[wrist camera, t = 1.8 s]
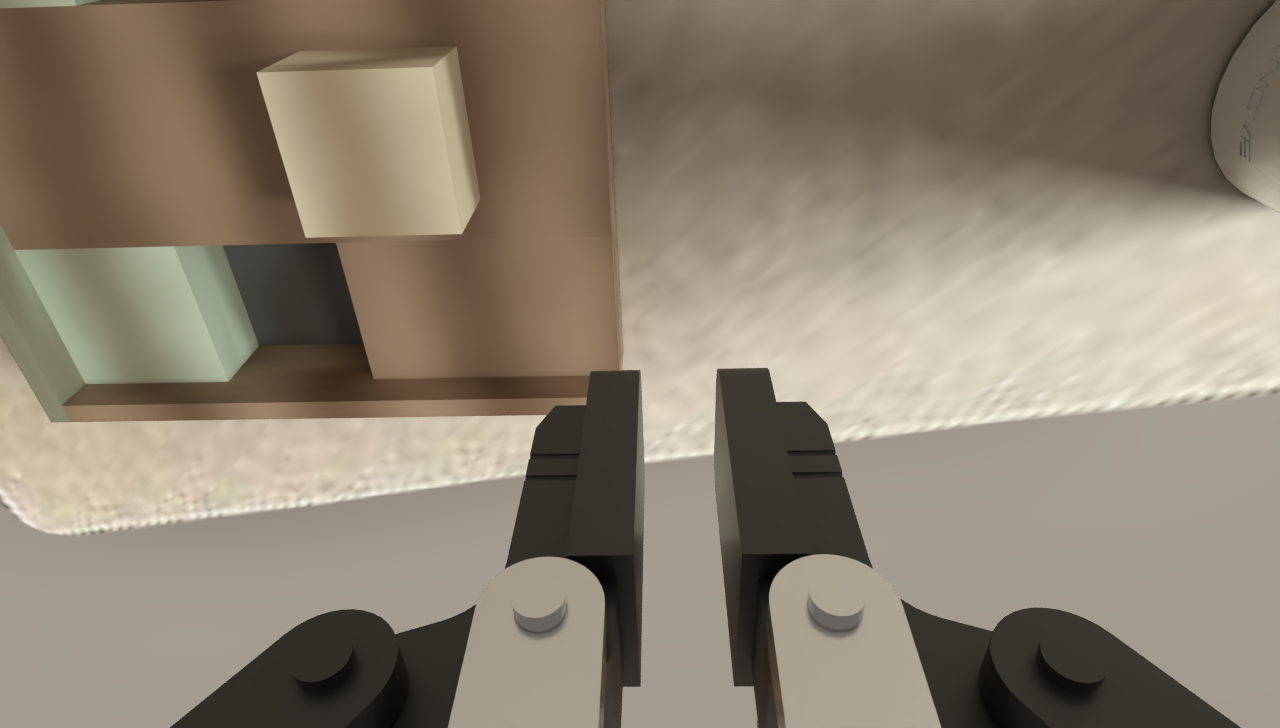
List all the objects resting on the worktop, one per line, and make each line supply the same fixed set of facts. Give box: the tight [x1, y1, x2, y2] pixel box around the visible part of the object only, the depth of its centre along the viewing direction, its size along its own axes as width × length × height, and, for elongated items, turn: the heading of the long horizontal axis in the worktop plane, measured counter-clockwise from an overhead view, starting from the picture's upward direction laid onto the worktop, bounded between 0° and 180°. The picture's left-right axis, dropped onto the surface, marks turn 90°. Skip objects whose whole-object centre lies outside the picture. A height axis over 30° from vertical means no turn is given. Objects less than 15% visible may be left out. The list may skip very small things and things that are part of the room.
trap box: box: [0, 0, 623, 422], centre depth 26 cm, size 23×22×4 cm
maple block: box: [256, 46, 480, 238], centre depth 24 cm, size 5×5×3 cm
